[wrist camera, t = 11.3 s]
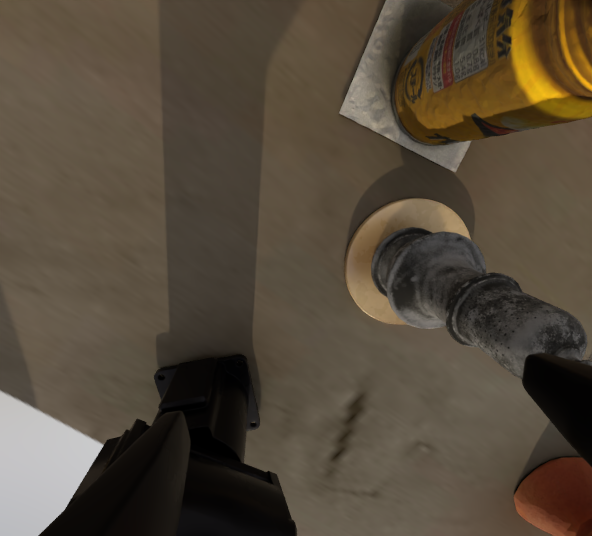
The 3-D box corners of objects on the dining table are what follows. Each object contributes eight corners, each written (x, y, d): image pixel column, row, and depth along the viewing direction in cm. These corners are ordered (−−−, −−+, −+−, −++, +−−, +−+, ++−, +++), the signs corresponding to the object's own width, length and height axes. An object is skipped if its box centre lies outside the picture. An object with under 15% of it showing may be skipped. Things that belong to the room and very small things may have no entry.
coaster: (465, 310, 22) (469, 313, 22) (349, 330, 22) (351, 334, 21) (470, 188, 20) (475, 189, 19) (338, 208, 19) (340, 209, 19)
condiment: (453, 172, 19) (733, 161, 8) (338, 113, 17) (477, -12, 6) (516, 53, 17) (992, -185, 6) (395, -24, 16) (738, -561, 4)
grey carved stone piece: (465, 262, 21) (717, 367, 9) (402, 320, 21) (561, 483, 10) (414, 203, 19) (642, 240, 7) (349, 268, 20) (464, 389, 8)
